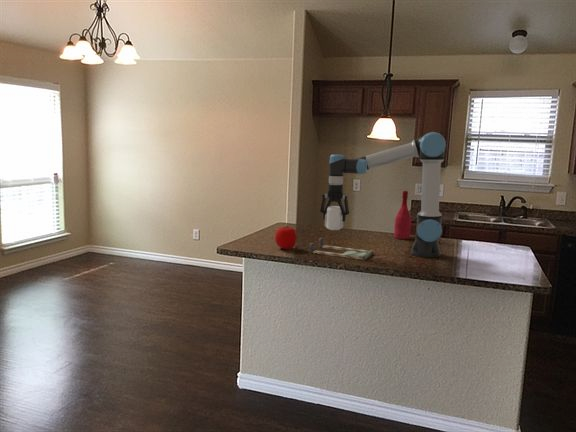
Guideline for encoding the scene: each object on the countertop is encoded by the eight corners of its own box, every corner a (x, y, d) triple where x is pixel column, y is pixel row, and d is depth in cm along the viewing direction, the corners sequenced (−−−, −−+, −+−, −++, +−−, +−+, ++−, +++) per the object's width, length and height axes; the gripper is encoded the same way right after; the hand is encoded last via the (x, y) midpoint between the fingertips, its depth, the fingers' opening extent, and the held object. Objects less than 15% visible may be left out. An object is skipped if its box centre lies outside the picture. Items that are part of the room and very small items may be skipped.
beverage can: (340, 230, 245) (341, 208, 243) (325, 229, 247) (326, 207, 245) (342, 228, 253) (343, 206, 251) (327, 227, 255) (328, 205, 253)
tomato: (300, 249, 256) (301, 226, 254) (286, 252, 248) (287, 228, 246) (284, 245, 265) (285, 223, 262) (269, 248, 256) (270, 225, 254)
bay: (372, 253, 252) (373, 244, 251) (365, 260, 237) (365, 250, 236) (319, 246, 264) (320, 237, 263) (309, 252, 248) (309, 243, 247)
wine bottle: (412, 238, 296) (415, 190, 291) (406, 240, 288) (410, 192, 283) (397, 236, 301) (400, 189, 296) (391, 238, 293) (394, 190, 288)
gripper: (356, 184, 245) (354, 227, 249) (319, 182, 254) (317, 223, 257) (353, 185, 239) (351, 229, 242) (314, 183, 247) (313, 225, 250)
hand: (333, 226), depth 250 cm, fingers closed on beverage can, 8 cm apart
